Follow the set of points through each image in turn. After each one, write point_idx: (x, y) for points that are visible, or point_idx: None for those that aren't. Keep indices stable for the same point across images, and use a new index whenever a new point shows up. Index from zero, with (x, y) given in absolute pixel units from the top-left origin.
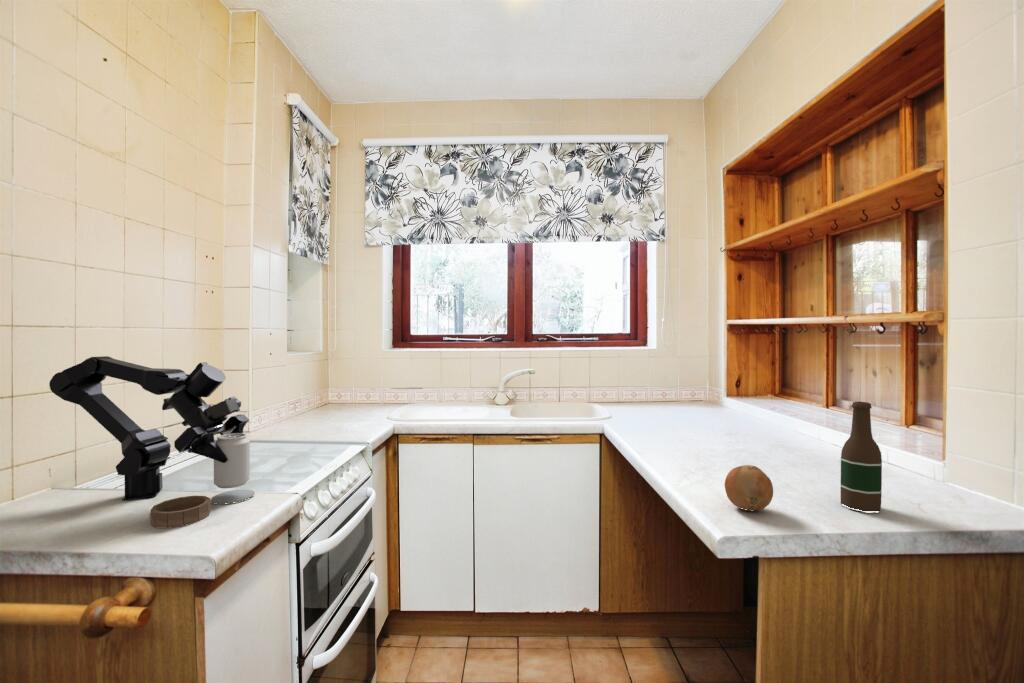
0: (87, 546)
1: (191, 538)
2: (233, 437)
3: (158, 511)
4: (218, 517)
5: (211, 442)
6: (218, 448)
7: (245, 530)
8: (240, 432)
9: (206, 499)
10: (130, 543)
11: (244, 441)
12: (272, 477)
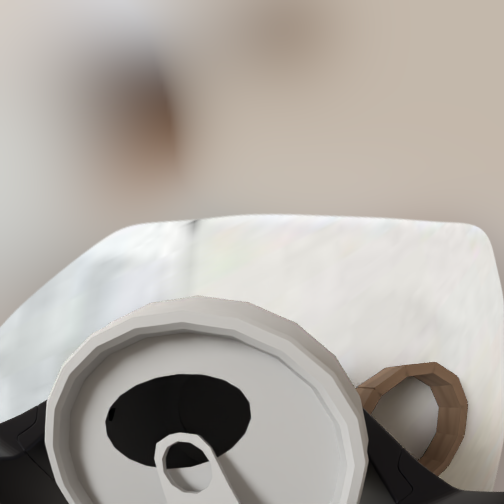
0: (493, 457)
1: (471, 306)
2: (209, 448)
3: (458, 437)
4: (388, 334)
5: (436, 493)
6: (383, 452)
7: (427, 226)
8: (2, 444)
9: (382, 393)
10: (492, 401)
11: (230, 307)
12: (45, 358)
